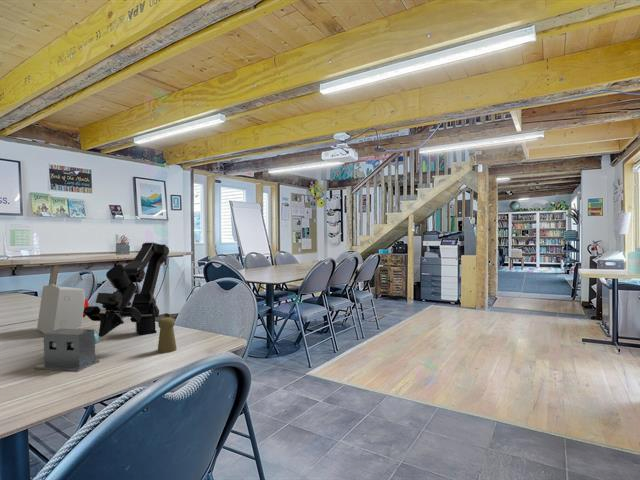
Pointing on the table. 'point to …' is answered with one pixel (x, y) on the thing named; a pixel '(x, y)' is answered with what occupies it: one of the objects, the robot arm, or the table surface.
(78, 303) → the electrical switch box
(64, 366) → the mount
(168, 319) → the olive tapered figurine
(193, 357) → the table surface
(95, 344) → the popped knob
